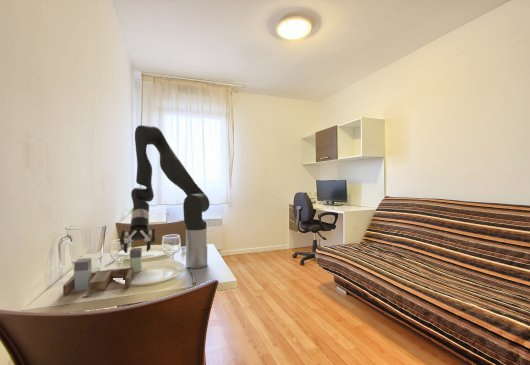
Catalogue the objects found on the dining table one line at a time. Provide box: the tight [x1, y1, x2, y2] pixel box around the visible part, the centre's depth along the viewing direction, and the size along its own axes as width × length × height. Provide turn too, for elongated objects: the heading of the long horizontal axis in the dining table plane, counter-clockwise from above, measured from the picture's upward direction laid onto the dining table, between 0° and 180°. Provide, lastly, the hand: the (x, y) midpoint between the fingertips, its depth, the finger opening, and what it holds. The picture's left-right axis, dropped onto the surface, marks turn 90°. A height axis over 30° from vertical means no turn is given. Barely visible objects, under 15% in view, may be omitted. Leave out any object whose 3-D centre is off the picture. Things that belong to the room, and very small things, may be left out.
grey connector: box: [73, 257, 92, 291], centre depth 91 cm, size 4×4×10 cm
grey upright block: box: [129, 247, 143, 273], centre depth 108 cm, size 4×4×10 cm
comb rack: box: [62, 267, 134, 297], centre depth 93 cm, size 20×11×4 cm, turn 110°
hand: (136, 251), depth 111 cm, fingers open, 8 cm apart
